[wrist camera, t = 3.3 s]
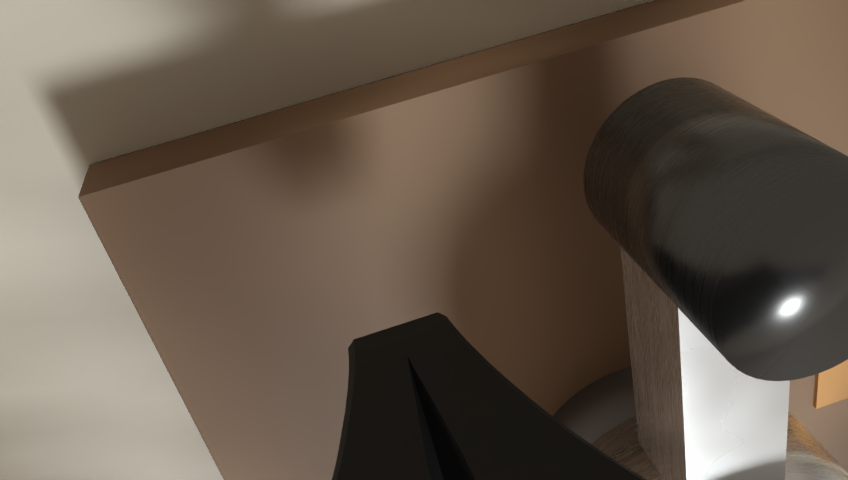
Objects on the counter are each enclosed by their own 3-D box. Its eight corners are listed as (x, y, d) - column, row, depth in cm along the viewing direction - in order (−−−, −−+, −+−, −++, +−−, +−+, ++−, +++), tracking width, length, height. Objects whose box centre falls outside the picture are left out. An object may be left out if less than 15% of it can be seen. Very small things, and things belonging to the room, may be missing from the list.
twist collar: (803, 556, 17) (938, 726, 14) (548, 650, 16) (626, 850, 13) (844, 9, 11) (1110, 92, 7) (430, 133, 10) (528, 280, 7)
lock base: (367, 728, 22) (386, 841, 19) (89, 164, 12) (59, 250, 10) (921, 522, 23) (1002, 603, 21) (1047, -114, 14) (1219, -99, 12)
